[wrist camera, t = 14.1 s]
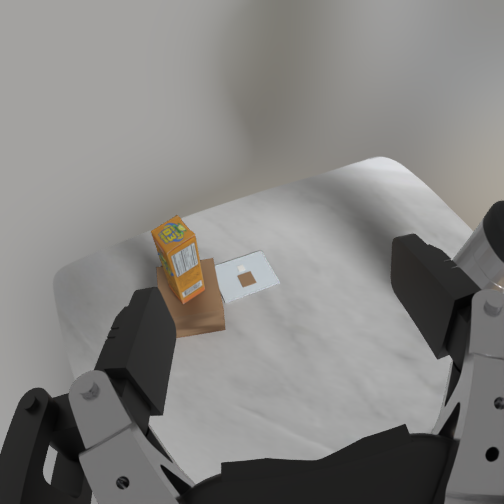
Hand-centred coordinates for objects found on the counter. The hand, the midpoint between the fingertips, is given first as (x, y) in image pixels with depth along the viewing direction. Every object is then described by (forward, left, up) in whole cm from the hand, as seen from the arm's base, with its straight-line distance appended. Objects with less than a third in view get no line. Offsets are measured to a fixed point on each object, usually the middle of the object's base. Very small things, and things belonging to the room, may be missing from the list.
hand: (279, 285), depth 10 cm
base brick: (+4, -14, -27) cm, 31 cm away
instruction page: (-4, -18, -27) cm, 32 cm away
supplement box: (+4, -14, -21) cm, 26 cm away
